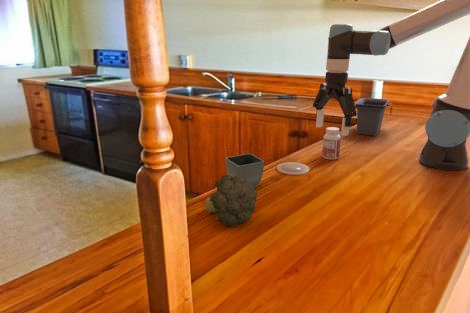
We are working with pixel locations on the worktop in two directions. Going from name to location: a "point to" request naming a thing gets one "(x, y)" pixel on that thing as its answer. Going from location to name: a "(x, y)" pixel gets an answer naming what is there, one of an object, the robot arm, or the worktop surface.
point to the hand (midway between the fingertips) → (331, 131)
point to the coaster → (293, 168)
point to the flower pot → (246, 168)
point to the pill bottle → (331, 143)
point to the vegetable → (232, 200)
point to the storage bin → (370, 115)
